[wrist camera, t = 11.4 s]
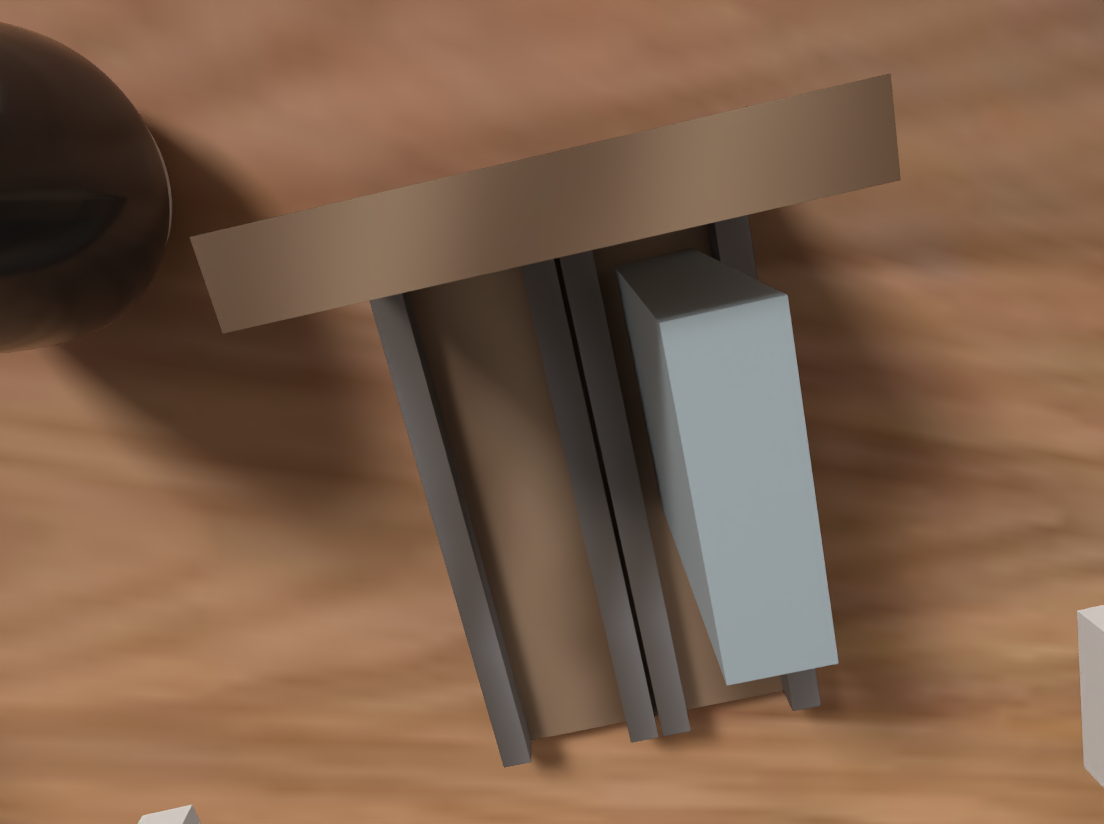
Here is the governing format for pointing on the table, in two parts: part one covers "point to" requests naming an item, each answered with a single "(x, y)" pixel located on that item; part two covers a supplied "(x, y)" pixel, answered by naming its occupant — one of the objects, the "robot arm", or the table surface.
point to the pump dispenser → (72, 195)
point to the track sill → (556, 383)
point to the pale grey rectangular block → (732, 458)
